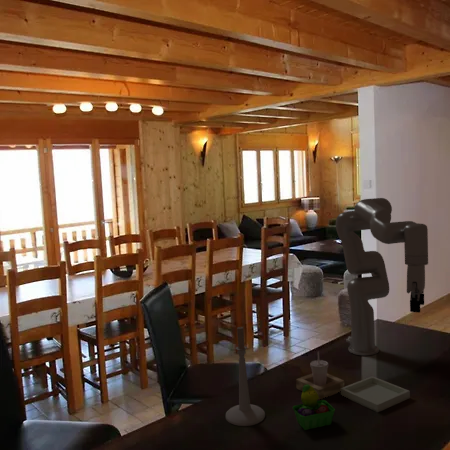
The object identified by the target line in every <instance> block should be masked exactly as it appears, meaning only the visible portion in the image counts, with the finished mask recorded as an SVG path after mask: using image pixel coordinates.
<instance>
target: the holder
mask: <svg viewBox="0 0 450 450" xmlns="http://www.w3.org/2000/svg"><path fill="white" fill-rule="evenodd" d="M295 382H296V383H295V384H296V385H295V386H296V388H295V389H297V390H299V391H301V392H303V386H304V385H307V384H308V385H310V386H312V387H313V388H314V390H315V391H316V392H317V394H318V396H319V400H318V401H320V399H321V400H324V399H326V398H328V396H329V397H331V396H334V395H336V394H338V392H339V393H341V392H340V391H341V389H340V388H343V387H345V384H346V383H345V380H344V379H341V378H339V377H337V376H335V375H333V374H330V373H328V372H327V379H326V384H325V385H323V386H320V387H319V386H317V385H315V384H314V380H313V374H312V373H309V374H307V375H304V376H300V377H299V378H296V379H295ZM325 397H326V398H325ZM323 398H324V399H323Z"/></svg>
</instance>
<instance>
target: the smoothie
mask: <svg viewBox="0 0 450 450" xmlns="http://www.w3.org/2000/svg"><path fill="white" fill-rule="evenodd" d="M309 365H310V366H309V367H310V368H311V372H312V373H311V374H313V380H314V384H315V385H317V386H319V387H320V386H323V385H325V384H326V379H327V373H328V368H329V362H328V361H326V360H323V359H320V351H317V360H312V361H311V362H310V364H309Z"/></svg>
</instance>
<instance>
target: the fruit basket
mask: <svg viewBox="0 0 450 450" xmlns="http://www.w3.org/2000/svg"><path fill="white" fill-rule="evenodd" d="M300 398H301V402H302V403H301V404H297V405H293V406H292V411H294V414H295V417H296V420H297V423H298V424H299V426H300V427H301V428H302V429H303V430H304V431H307V430H310V429H316V428H321V427H322V428H323V427H325V426H330V425H332V422H333V418H334V414H335V412H336V411H335V410H336V409H335V408H334V407H333V406H332V405H331V404H330V403H329V402H328V401H327V400H325V399H321V400H318V399H319V396H318V394H317V392H316V391H315V390H314V388H313V387H312V386H310V385H308V384H307V385H304V386H303V391H301V397H300Z"/></svg>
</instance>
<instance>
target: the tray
mask: <svg viewBox="0 0 450 450" xmlns="http://www.w3.org/2000/svg"><path fill="white" fill-rule="evenodd" d="M340 389H341V392H340V396H341V395H342V397H343V396H344V397H343V398H345V397H346V398H345V399H347V398H348V400H350V401H352V402H354V403H357V404H358V405H360V406H363V407H364V408H367V409H368V410H371V411H373V412H375V413H379V412H382V411H384V410H386V409H388V408H390V407H393V406H396V405H398V404H400V403H402V402H404V401H406V400H408V399H410V398H411V397H410V396H411V393H410V390H409V389H406V388H403V387H400V386H399V385H396V384H393V383H390V382H388V381H386V380H383V379H380V378H378V377H375V376H373V375H371V376H369V377H367V378H364V379H362V380H358V381H355V382H354V383H351V384H348V385H346V386H345V387H343V388H340Z"/></svg>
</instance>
